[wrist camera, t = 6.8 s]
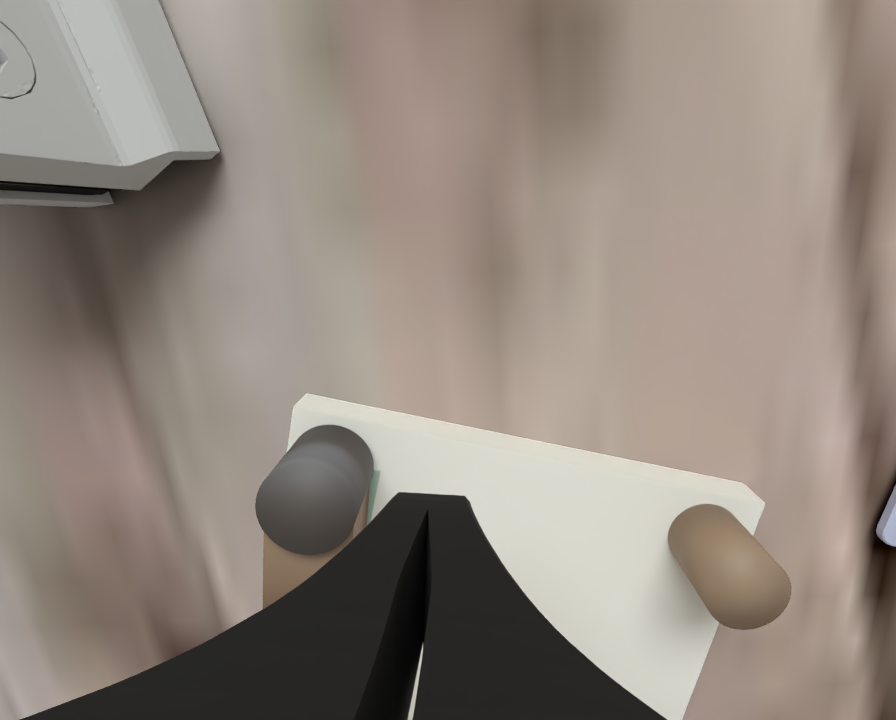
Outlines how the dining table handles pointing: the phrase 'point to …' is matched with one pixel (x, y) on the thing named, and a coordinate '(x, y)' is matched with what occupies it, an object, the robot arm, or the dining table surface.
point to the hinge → (92, 101)
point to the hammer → (312, 505)
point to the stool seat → (588, 540)
